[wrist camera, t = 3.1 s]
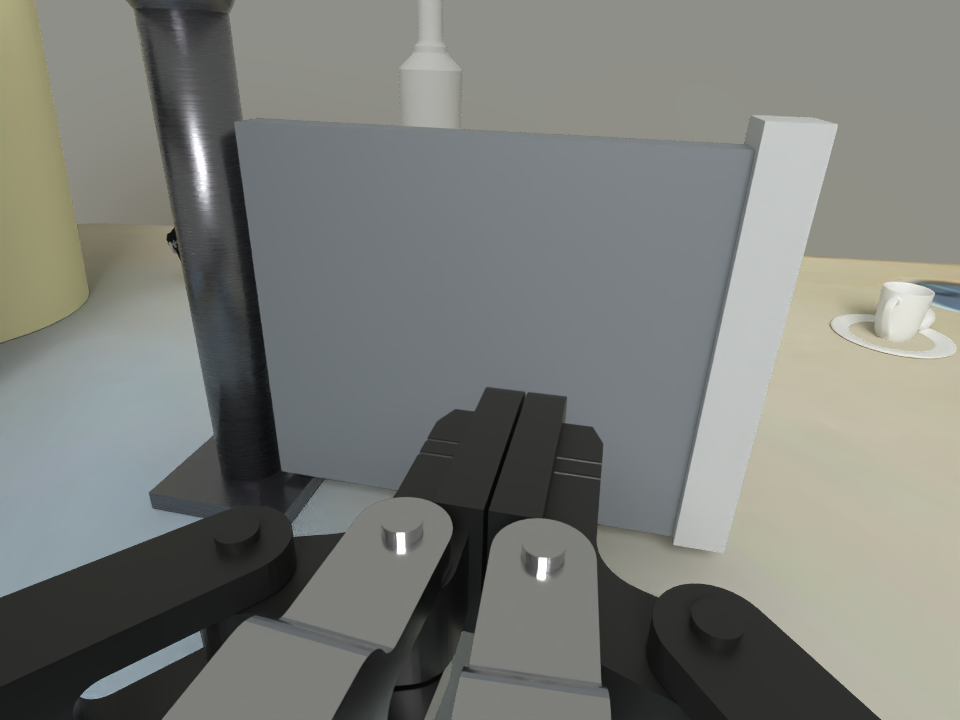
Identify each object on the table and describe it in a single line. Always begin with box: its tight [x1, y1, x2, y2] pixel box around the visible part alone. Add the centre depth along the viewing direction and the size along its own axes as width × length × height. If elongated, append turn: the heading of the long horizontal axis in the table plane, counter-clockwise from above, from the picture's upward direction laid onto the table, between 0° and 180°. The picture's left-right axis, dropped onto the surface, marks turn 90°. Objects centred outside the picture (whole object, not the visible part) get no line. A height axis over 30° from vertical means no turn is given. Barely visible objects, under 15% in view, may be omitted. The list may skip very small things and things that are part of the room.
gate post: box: [126, 0, 325, 523], centre depth 23 cm, size 6×6×21 cm
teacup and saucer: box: [831, 282, 957, 359], centre depth 45 cm, size 9×8×4 cm
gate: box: [234, 115, 838, 553], centre depth 22 cm, size 18×2×15 cm, turn 77°
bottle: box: [399, 0, 462, 129], centre depth 51 cm, size 5×5×25 cm
